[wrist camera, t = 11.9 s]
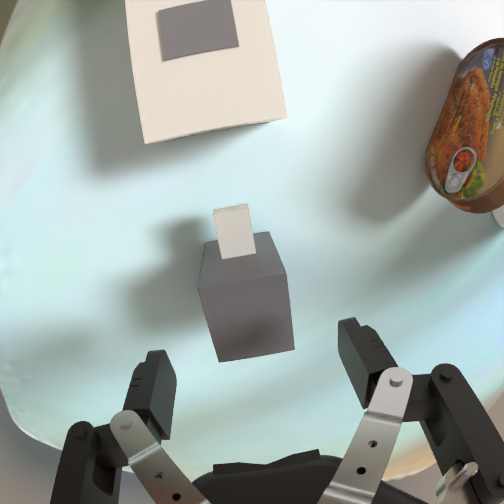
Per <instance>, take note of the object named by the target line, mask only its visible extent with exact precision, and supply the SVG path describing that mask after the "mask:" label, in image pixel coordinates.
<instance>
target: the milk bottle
mask: <svg viewBox="0 0 504 504" xmlns="http://www.w3.org/2000/svg"><path fill="white" fill-rule="evenodd" d="M492 213H493V216H494V218H495V220H496V221H497V223H498V224H499V225H500V226H501V227H502V228H504V205H503V206H501V207H499V208H497V209H495V210H493V211H492Z"/></svg>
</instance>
